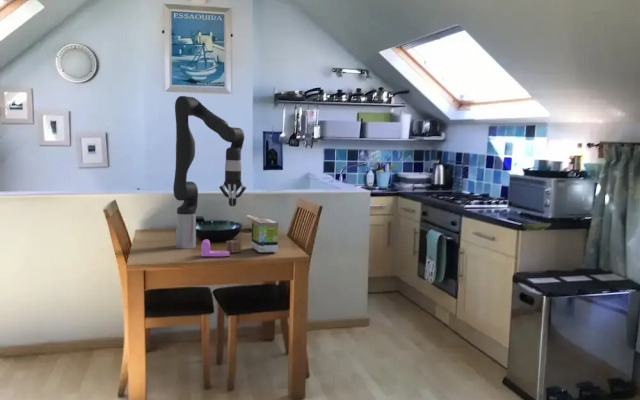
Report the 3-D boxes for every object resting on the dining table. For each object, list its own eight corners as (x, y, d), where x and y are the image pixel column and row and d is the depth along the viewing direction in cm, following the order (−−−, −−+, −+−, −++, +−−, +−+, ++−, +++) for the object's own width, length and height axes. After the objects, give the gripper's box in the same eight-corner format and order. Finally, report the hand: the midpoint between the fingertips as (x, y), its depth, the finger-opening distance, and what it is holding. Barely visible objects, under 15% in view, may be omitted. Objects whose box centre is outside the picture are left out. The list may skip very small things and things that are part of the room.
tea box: (278, 251, 265) (278, 222, 263) (258, 253, 261) (258, 222, 260) (269, 246, 279) (270, 218, 277) (250, 247, 275) (251, 218, 274)
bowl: (270, 233, 320) (270, 216, 319) (246, 233, 318) (246, 216, 317) (268, 229, 335) (269, 213, 334) (246, 229, 333) (246, 213, 332)
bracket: (201, 256, 251) (201, 241, 251) (202, 253, 257) (202, 239, 256) (229, 256, 253) (229, 241, 252) (229, 253, 259) (229, 239, 258)
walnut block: (234, 249, 268) (226, 251, 264) (234, 240, 267) (226, 241, 264) (240, 251, 264) (231, 252, 261) (240, 241, 264) (232, 242, 260)
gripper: (217, 169, 252) (216, 206, 254) (245, 170, 252) (245, 207, 253) (220, 169, 260) (220, 204, 261) (248, 169, 259) (247, 205, 261)
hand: (232, 206), depth 257 cm, fingers closed
